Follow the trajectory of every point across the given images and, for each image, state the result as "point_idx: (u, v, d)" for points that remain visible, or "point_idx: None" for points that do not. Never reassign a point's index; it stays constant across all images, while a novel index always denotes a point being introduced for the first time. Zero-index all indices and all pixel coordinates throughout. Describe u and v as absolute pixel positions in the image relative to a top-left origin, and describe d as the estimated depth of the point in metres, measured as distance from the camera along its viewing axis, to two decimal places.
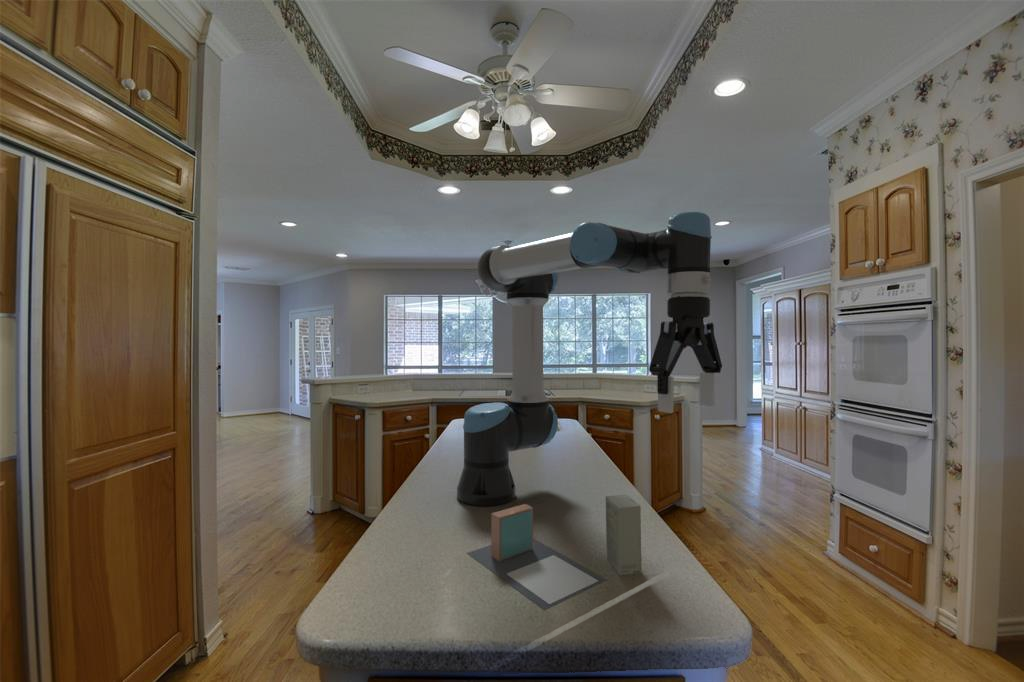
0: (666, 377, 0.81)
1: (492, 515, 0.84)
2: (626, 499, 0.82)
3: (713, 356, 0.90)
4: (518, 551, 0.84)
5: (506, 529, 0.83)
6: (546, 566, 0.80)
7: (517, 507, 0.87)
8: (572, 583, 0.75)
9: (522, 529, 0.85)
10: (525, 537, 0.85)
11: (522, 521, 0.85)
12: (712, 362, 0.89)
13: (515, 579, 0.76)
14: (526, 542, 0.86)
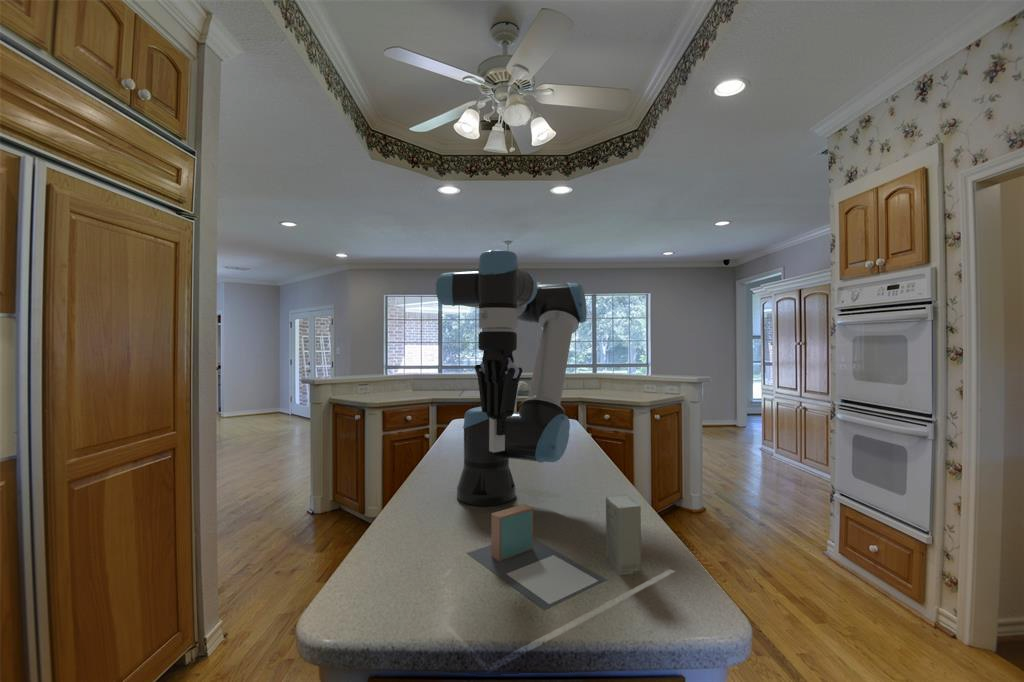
0: None
1: (492, 515, 0.84)
2: (626, 499, 0.82)
3: None
4: (518, 551, 0.84)
5: (506, 529, 0.83)
6: (546, 566, 0.80)
7: (517, 507, 0.87)
8: (572, 583, 0.75)
9: (522, 529, 0.85)
10: (525, 537, 0.85)
11: (522, 521, 0.85)
12: (496, 406, 0.87)
13: (515, 579, 0.76)
14: (526, 542, 0.86)
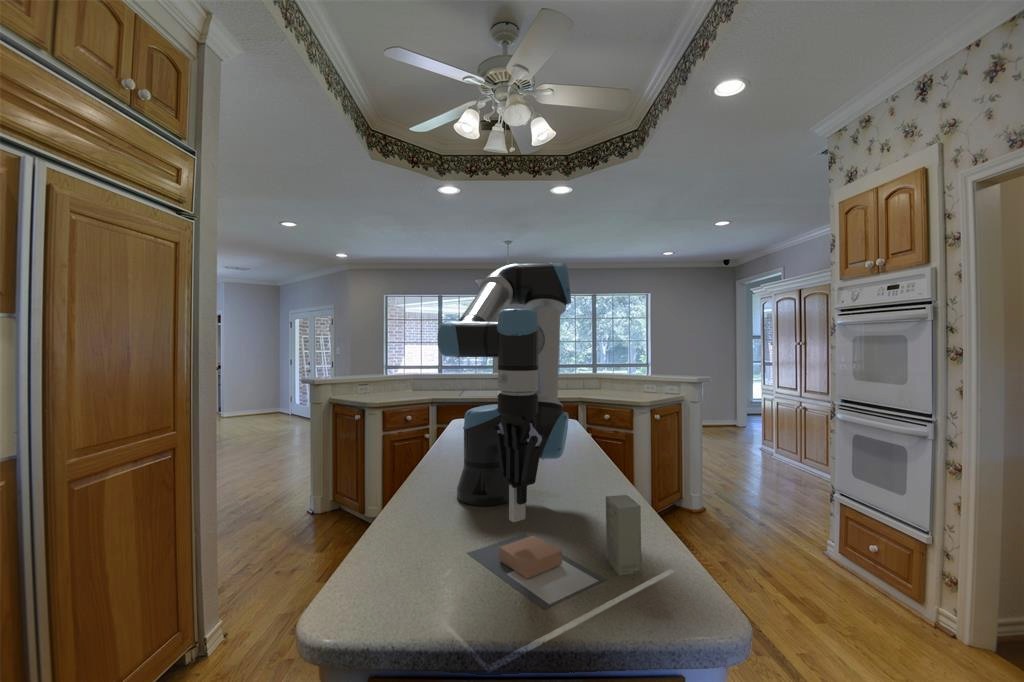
0: (511, 483, 0.84)
1: (526, 565, 0.76)
2: (626, 499, 0.82)
3: None
4: None
5: None
6: None
7: (552, 557, 0.79)
8: (572, 583, 0.75)
9: None
10: None
11: None
12: (516, 473, 0.82)
13: (515, 579, 0.76)
14: None
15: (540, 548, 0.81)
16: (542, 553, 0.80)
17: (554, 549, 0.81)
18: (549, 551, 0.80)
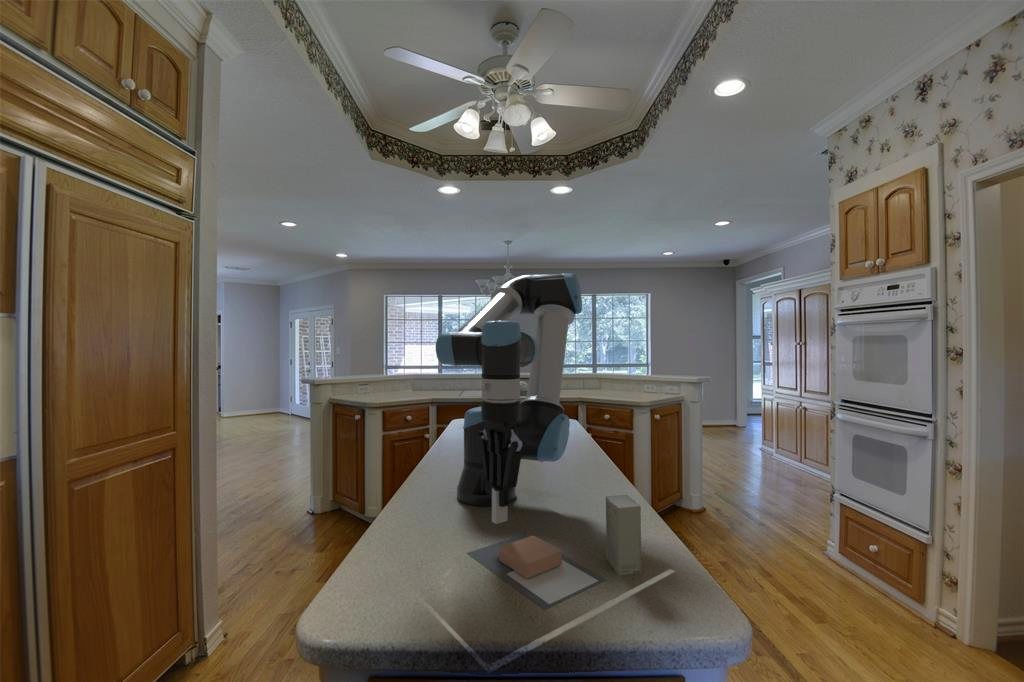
0: (494, 487, 0.88)
1: (526, 565, 0.76)
2: (626, 499, 0.82)
3: None
4: None
5: None
6: None
7: (552, 557, 0.79)
8: (572, 583, 0.75)
9: None
10: None
11: None
12: (498, 477, 0.86)
13: (515, 579, 0.76)
14: None
15: (540, 548, 0.81)
16: (542, 553, 0.80)
17: (554, 549, 0.81)
18: (549, 551, 0.80)
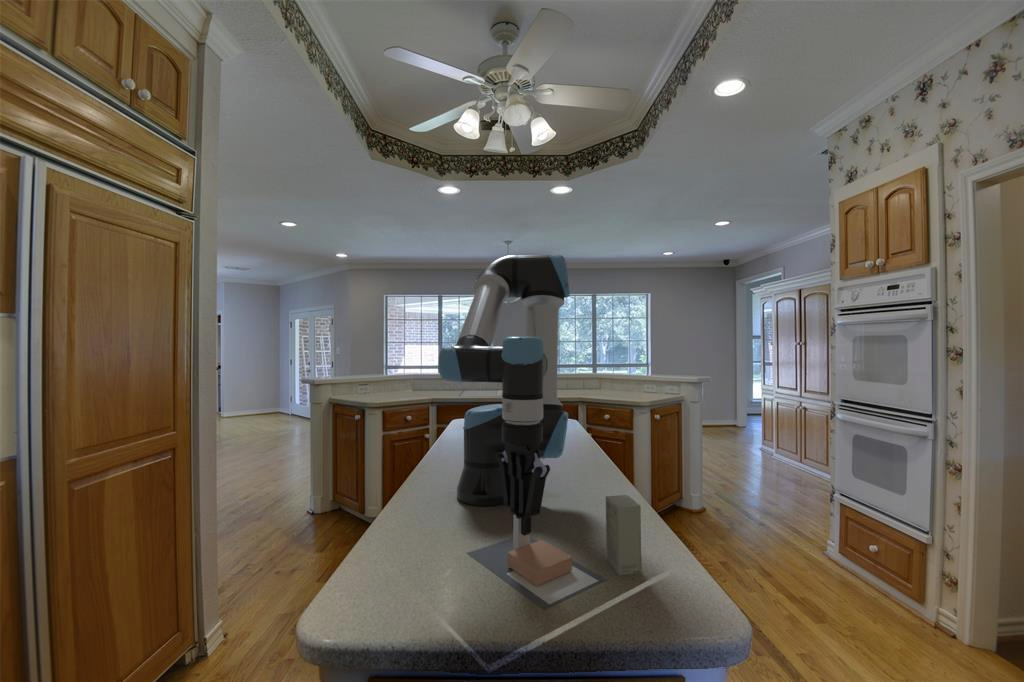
0: (516, 513, 0.83)
1: (535, 572, 0.74)
2: (626, 499, 0.82)
3: None
4: None
5: None
6: None
7: (562, 564, 0.77)
8: (572, 583, 0.75)
9: None
10: None
11: None
12: (521, 504, 0.81)
13: (515, 579, 0.76)
14: None
15: (550, 554, 0.79)
16: (552, 559, 0.77)
17: (564, 555, 0.79)
18: (559, 558, 0.78)
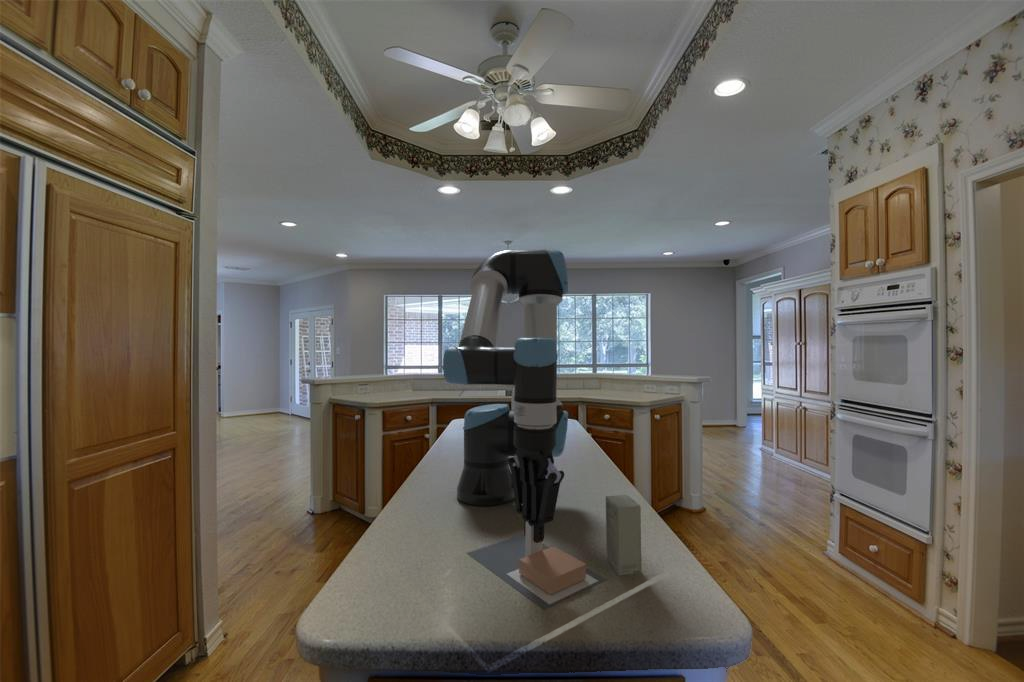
0: (528, 520, 0.80)
1: (549, 580, 0.71)
2: (626, 499, 0.82)
3: None
4: None
5: None
6: None
7: (576, 571, 0.74)
8: None
9: None
10: None
11: None
12: (533, 510, 0.78)
13: (515, 579, 0.76)
14: None
15: (563, 561, 0.77)
16: (565, 566, 0.75)
17: (578, 562, 0.76)
18: (572, 565, 0.75)
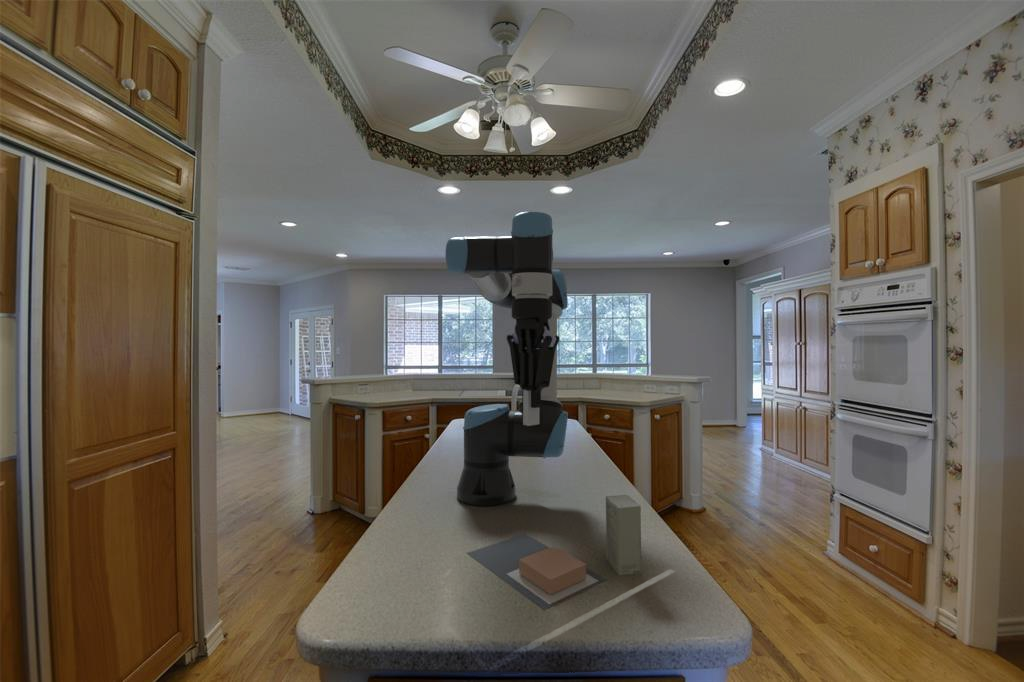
0: (526, 389, 0.85)
1: (549, 580, 0.71)
2: (626, 499, 0.82)
3: None
4: None
5: None
6: None
7: (576, 571, 0.74)
8: None
9: None
10: None
11: None
12: (530, 377, 0.83)
13: (515, 579, 0.76)
14: None
15: (563, 561, 0.77)
16: (565, 566, 0.75)
17: (578, 562, 0.76)
18: (572, 565, 0.75)
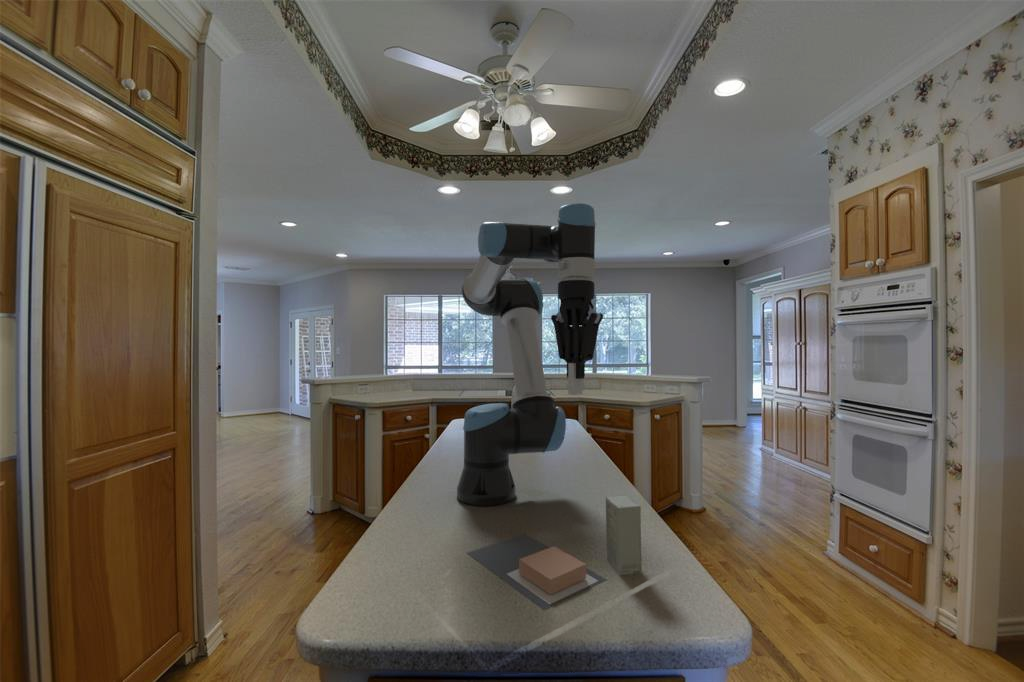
0: (570, 362, 0.94)
1: (549, 580, 0.71)
2: (626, 499, 0.82)
3: None
4: None
5: None
6: None
7: (576, 571, 0.74)
8: None
9: None
10: None
11: None
12: (576, 351, 0.92)
13: (515, 579, 0.76)
14: None
15: (563, 561, 0.77)
16: (565, 566, 0.75)
17: (578, 562, 0.76)
18: (572, 565, 0.75)
